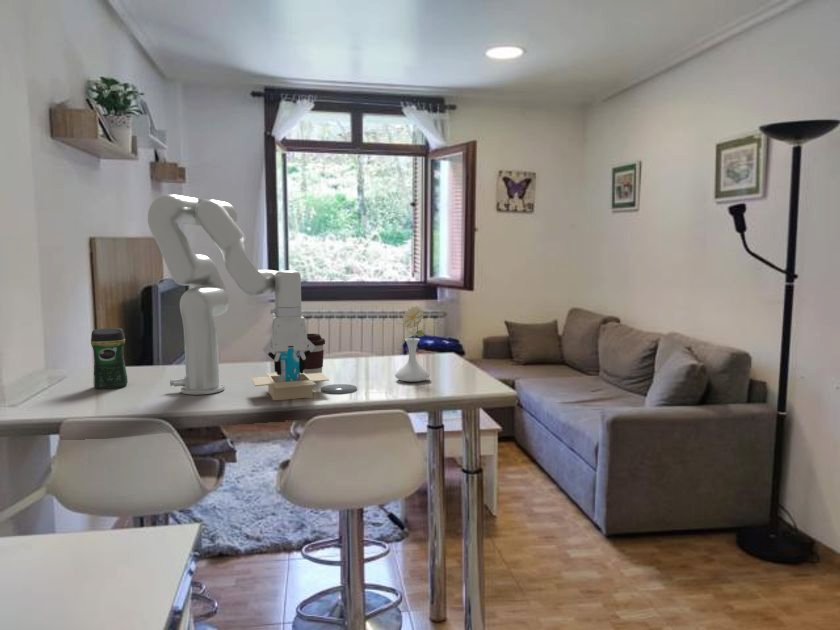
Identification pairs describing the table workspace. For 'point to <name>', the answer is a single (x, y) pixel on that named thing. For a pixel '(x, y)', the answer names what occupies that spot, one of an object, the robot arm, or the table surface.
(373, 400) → the table surface
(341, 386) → the coaster
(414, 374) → the flower in vase
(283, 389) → the carton
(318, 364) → the coffee cup
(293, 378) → the beverage can
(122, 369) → the coffee jar
